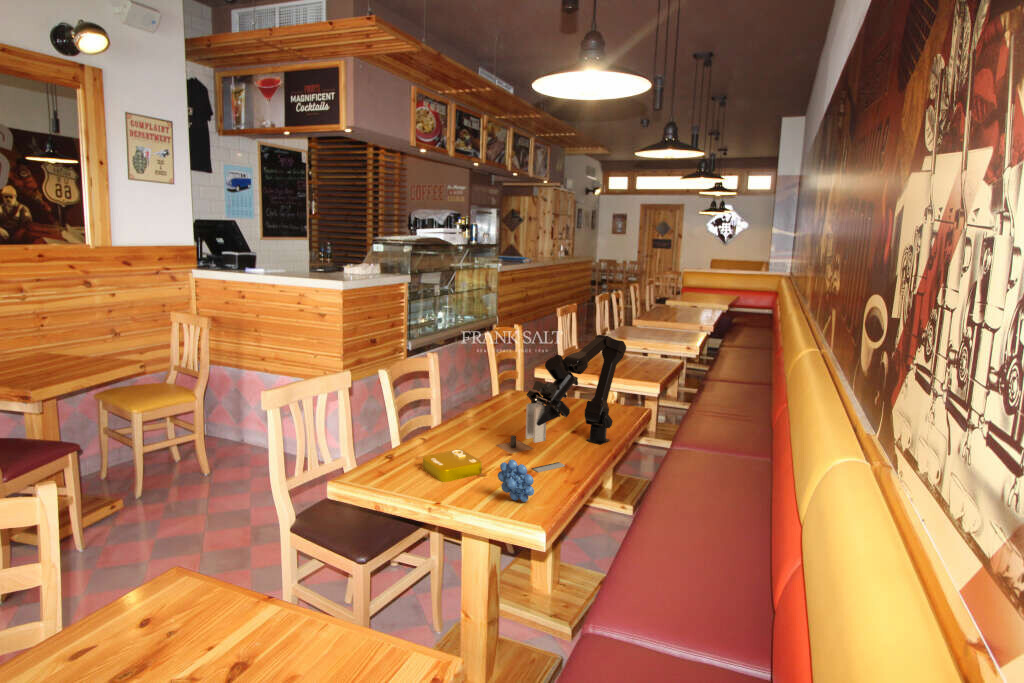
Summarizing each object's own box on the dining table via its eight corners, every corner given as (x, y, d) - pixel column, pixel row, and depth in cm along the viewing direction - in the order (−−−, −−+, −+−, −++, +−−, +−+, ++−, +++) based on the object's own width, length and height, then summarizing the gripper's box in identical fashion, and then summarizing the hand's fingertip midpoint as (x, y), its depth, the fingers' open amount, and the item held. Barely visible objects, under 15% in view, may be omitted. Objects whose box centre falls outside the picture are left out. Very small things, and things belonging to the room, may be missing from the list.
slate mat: (545, 456, 212) (545, 455, 212) (564, 466, 203) (564, 465, 203) (518, 461, 206) (518, 460, 206) (537, 472, 197) (538, 471, 197)
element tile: (420, 468, 199) (420, 454, 198) (460, 460, 207) (460, 446, 206) (442, 484, 187) (442, 469, 186) (484, 474, 195) (484, 460, 194)
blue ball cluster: (490, 501, 174) (490, 461, 172) (501, 493, 180) (502, 454, 178) (526, 510, 169) (527, 469, 167) (537, 501, 175) (538, 461, 173)
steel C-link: (536, 436, 210) (537, 402, 208) (545, 440, 205) (546, 406, 203) (525, 438, 207) (526, 403, 205) (534, 442, 203) (535, 407, 201)
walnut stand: (518, 443, 225) (518, 430, 224) (534, 451, 217) (534, 437, 216) (495, 447, 219) (495, 434, 219) (510, 456, 211) (510, 442, 210)
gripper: (531, 367, 212) (504, 401, 208) (564, 377, 197) (535, 415, 193) (549, 386, 218) (522, 420, 214) (582, 398, 202) (554, 435, 198)
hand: (532, 422), depth 204 cm, fingers closed on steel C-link, 6 cm apart
